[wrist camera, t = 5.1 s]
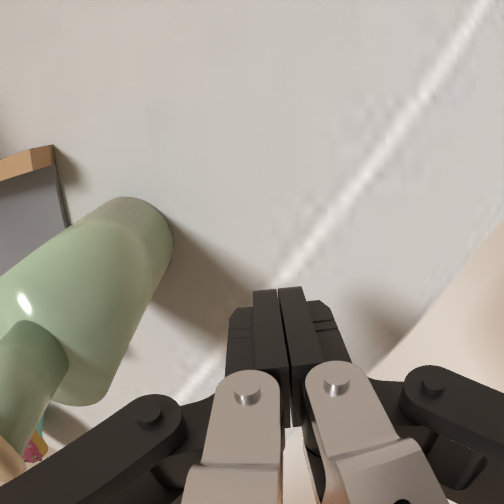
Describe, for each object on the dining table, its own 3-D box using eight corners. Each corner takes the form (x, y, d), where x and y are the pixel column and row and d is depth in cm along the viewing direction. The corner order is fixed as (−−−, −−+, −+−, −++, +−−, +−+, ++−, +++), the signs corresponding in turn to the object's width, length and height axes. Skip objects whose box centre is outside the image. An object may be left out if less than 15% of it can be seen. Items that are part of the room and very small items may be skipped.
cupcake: (5, 407, 25) (-35, 479, 14) (-12, 359, 22) (-69, 438, 11) (65, 437, 26) (32, 520, 15) (54, 393, 23) (5, 492, 12)
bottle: (164, 190, 17) (-32, 394, 3) (180, 280, 19) (99, 527, 5) (80, 203, 17) (-117, 353, 3) (101, 285, 19) (-23, 476, 5)
